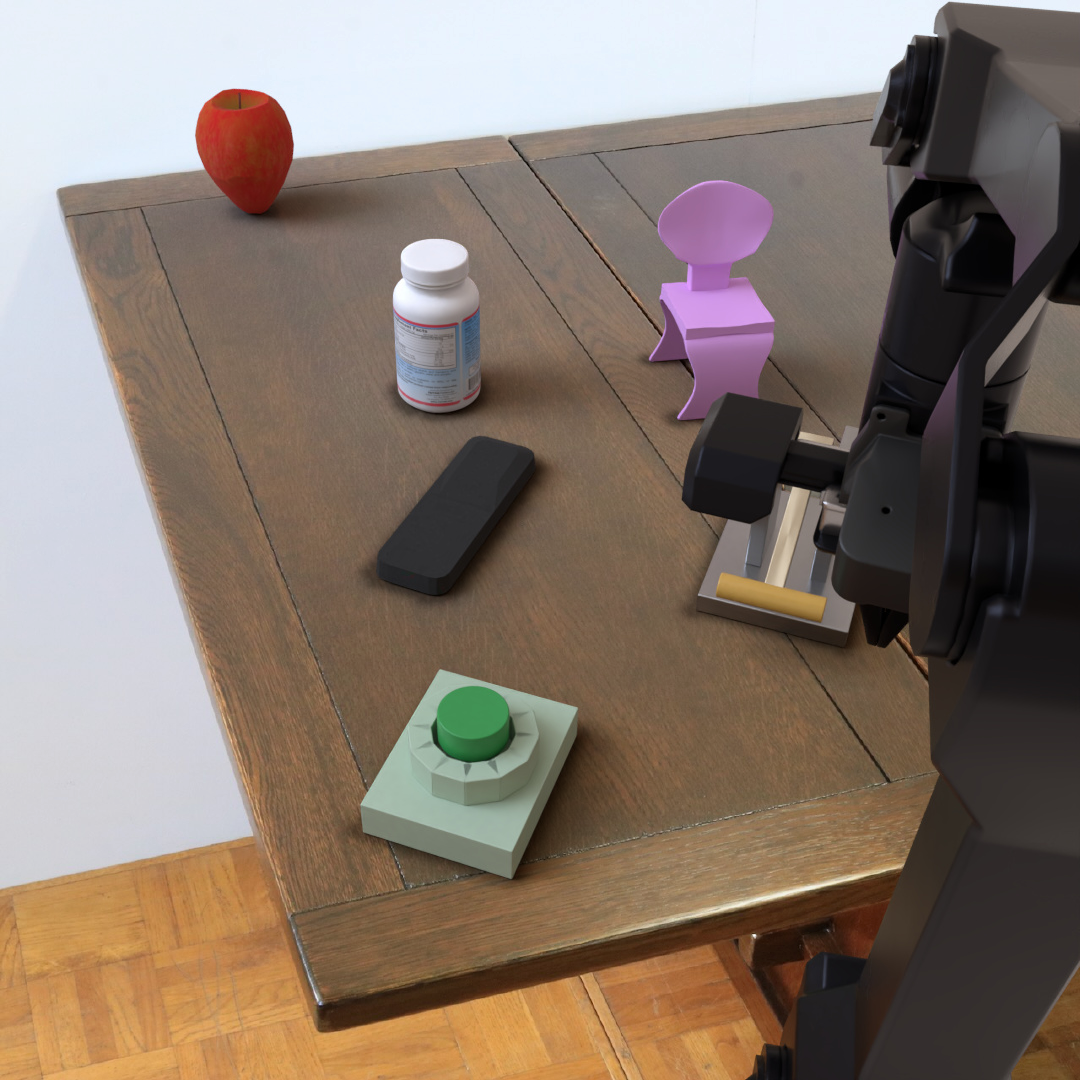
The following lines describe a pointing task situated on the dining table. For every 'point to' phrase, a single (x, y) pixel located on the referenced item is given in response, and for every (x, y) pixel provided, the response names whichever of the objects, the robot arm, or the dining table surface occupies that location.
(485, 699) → the button
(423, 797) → the push button base
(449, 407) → the pill bottle
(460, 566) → the remote control
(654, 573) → the dining table surface
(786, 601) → the latch lever
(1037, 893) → the robot arm
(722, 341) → the toy chair
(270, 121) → the apple
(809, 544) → the latch bracket
